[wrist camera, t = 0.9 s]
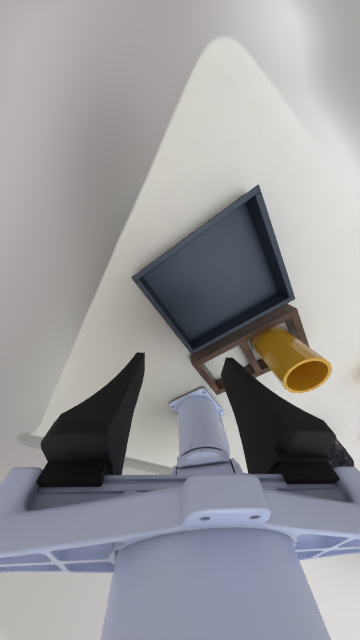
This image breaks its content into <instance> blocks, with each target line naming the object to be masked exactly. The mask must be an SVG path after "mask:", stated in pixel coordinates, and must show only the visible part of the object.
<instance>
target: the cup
mask: <svg viewBox="0 0 360 640" xmlns="http://www.w3.org/2000/svg"><path fill="white" fill-rule="evenodd" d="M252 347H253V348H254V350H255V351H256V353H257V354H258V355H259V356H260V358H261V359H262V360H263V361H264V363H265V364H266V365H267V367H268V368H269V369H270V370H271V372H272V373H273V374H274V375H275V377H276V378H277V379H278V380H279V382H280V383H281V384H282V385H283V387H284V388H285V389H286V390H288V391H290V392H292V393H304V392H308V391H311V390H313V389H316V388H318V387H319V386H320V385H322V384H323V383H325V381H326V380H327V379H328V378H329V377H330V374H331V371H332V367H331V364H330V362H328V361H327V360H326V359H324V358H323V357H321V356H320V355H319V354H317V353H316V352H315V351H313V350H312V349H311V348H309V347H308V346H306V345H305V344H304V343H302V342H301V341H300V340H298V339H297V338H296V337H294V336H293V335H291V334H290V333H289V332H287V331H286V330H285V329H283V328H282V327H280V326H278V325H277V326H275V327H273V328H271V329H269V330H267V331H265V332H263V333H261V334H259V335H257V336H255V337H253V338H252Z"/></svg>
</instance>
